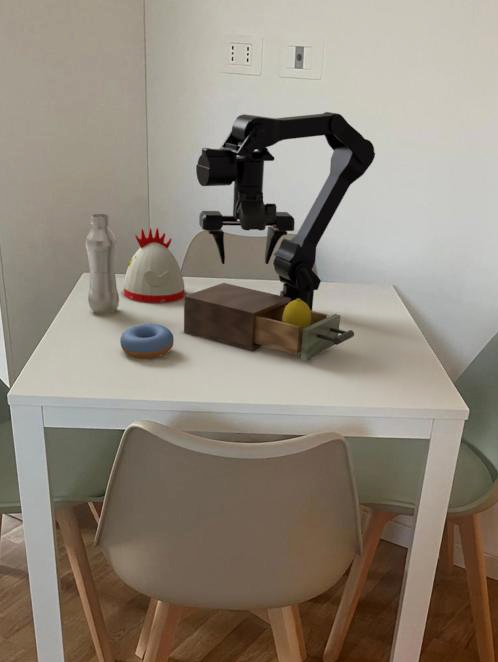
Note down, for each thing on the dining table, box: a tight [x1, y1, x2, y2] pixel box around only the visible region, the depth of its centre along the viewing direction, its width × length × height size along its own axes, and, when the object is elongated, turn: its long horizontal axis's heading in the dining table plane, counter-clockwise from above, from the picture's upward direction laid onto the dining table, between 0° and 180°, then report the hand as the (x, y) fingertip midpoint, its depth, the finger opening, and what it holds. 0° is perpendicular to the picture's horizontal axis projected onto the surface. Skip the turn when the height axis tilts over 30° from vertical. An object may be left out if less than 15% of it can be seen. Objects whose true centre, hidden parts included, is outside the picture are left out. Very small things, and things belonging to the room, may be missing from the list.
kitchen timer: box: [123, 227, 186, 304], centre depth 183 cm, size 14×14×15 cm
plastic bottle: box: [85, 213, 120, 314], centre depth 168 cm, size 6×7×20 cm
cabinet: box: [183, 282, 291, 352], centre depth 162 cm, size 17×14×8 cm
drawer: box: [254, 304, 355, 361], centre depth 155 cm, size 20×12×6 cm, turn 56°
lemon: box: [282, 299, 311, 336], centre depth 155 cm, size 6×6×8 cm
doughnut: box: [119, 323, 175, 359], centre depth 151 cm, size 10×10×5 cm
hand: (244, 263), depth 167 cm, fingers open, 9 cm apart
